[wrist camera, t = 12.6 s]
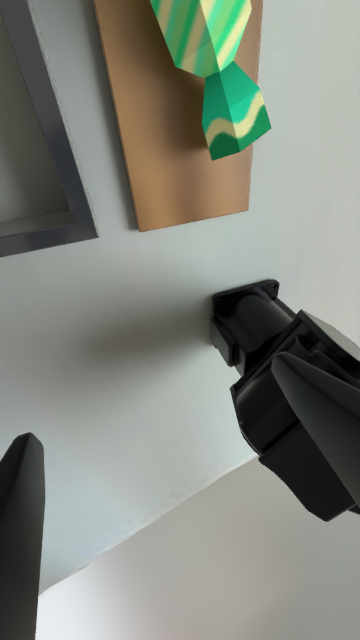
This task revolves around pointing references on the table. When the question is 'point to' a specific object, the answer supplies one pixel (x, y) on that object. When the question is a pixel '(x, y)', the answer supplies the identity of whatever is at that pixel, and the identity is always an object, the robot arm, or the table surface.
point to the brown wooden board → (170, 120)
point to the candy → (216, 68)
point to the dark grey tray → (52, 119)
